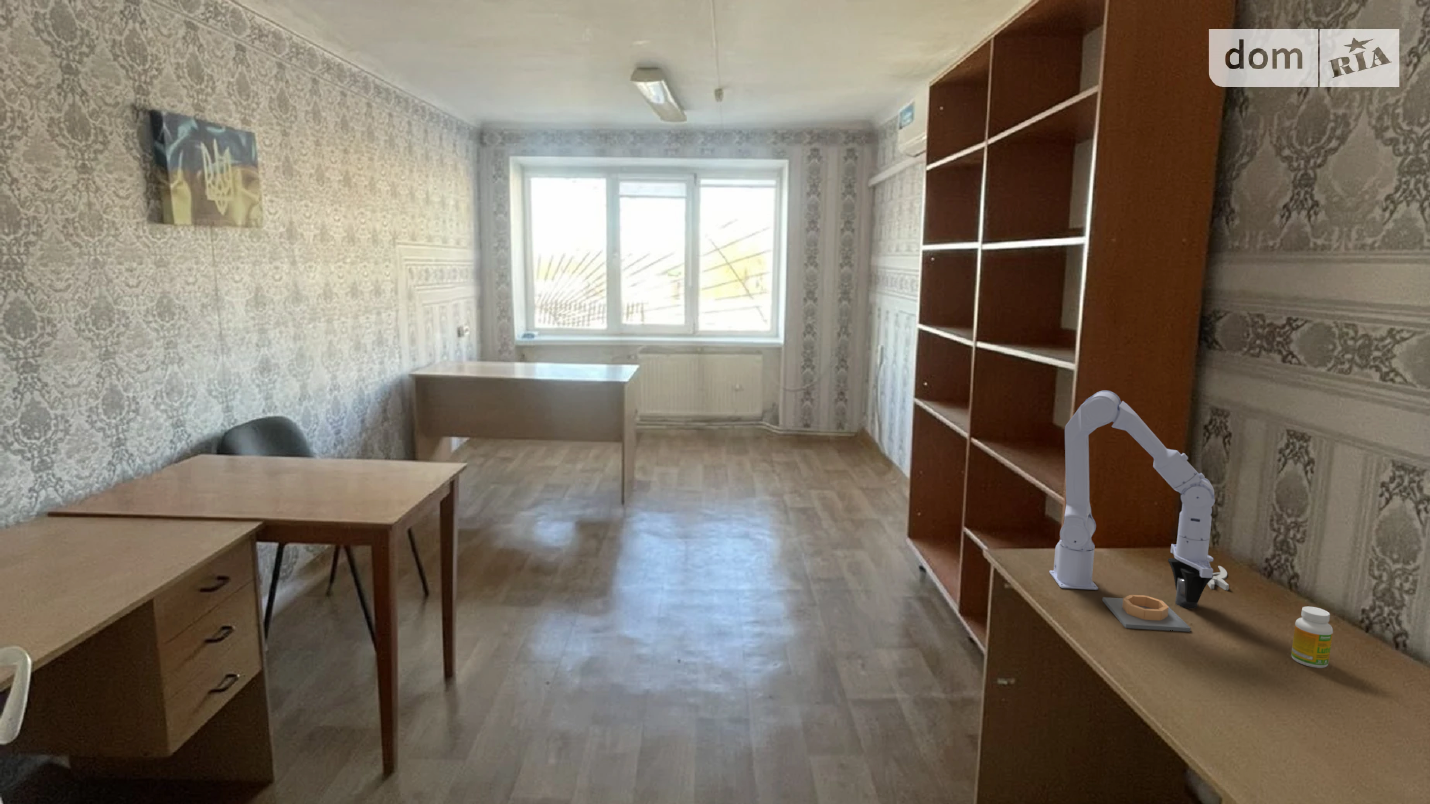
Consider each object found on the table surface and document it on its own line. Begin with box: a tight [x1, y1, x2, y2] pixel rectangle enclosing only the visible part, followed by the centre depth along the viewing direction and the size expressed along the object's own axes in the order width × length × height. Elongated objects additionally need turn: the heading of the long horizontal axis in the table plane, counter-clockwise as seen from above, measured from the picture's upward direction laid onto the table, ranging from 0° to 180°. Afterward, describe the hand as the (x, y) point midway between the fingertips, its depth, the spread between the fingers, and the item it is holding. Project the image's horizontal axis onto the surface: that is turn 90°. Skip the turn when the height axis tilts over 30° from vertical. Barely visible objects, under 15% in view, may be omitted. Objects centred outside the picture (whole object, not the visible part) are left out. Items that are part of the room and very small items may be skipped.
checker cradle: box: [1102, 594, 1192, 633], centre depth 158 cm, size 13×12×3 cm
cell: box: [1174, 576, 1199, 610], centre depth 163 cm, size 4×4×6 cm
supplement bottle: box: [1290, 606, 1334, 669], centre depth 139 cm, size 5×5×10 cm
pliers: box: [1207, 565, 1230, 591], centre depth 178 cm, size 10×2×15 cm
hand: (1187, 597), depth 163 cm, fingers closed on cell, 4 cm apart
